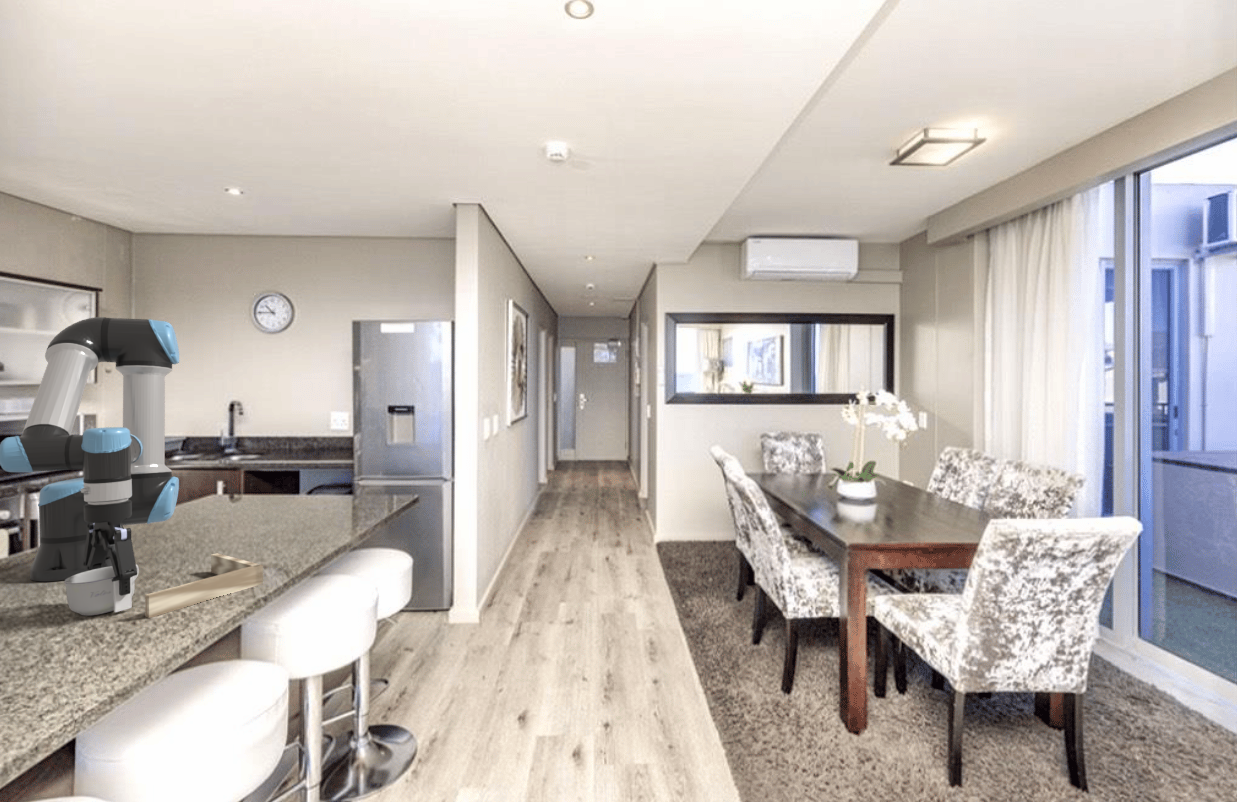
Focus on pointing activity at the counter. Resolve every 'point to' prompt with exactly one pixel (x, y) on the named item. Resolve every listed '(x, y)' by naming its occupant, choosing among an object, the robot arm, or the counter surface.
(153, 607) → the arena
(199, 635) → the counter surface
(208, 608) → the counter surface
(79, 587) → the teacup
